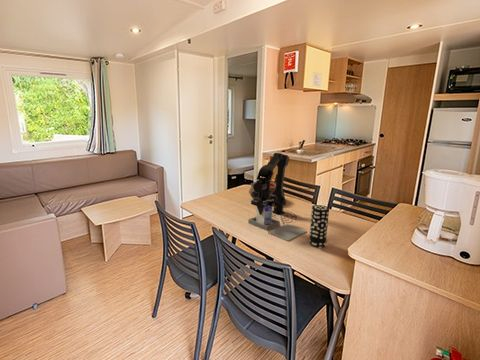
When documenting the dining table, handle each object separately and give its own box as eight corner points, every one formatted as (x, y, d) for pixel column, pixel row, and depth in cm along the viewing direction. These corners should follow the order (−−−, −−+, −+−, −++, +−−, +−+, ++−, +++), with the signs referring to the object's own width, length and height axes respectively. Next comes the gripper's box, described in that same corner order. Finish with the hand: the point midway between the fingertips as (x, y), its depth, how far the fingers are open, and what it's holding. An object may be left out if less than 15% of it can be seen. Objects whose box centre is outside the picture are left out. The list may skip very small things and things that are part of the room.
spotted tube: (306, 240, 143) (309, 205, 138) (321, 240, 143) (325, 204, 139) (312, 248, 135) (315, 210, 130) (328, 247, 135) (332, 210, 131)
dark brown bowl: (249, 196, 221) (250, 177, 217) (279, 198, 217) (280, 178, 214) (246, 205, 197) (247, 184, 194) (279, 207, 194) (280, 185, 191)
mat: (286, 224, 163) (287, 223, 163) (306, 232, 153) (306, 231, 153) (267, 233, 151) (267, 232, 151) (288, 241, 141) (288, 240, 141)
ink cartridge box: (272, 226, 160) (272, 203, 157) (264, 228, 158) (264, 204, 154) (263, 220, 169) (264, 198, 165) (256, 222, 167) (256, 200, 163)
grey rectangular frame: (261, 218, 173) (261, 214, 172) (279, 225, 162) (279, 221, 162) (248, 223, 165) (248, 219, 164) (266, 230, 154) (266, 226, 154)
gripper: (265, 183, 170) (264, 206, 174) (244, 188, 158) (244, 213, 161) (279, 187, 163) (277, 211, 166) (258, 192, 150) (257, 218, 154)
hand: (264, 213), depth 162 cm, fingers closed on ink cartridge box, 7 cm apart
